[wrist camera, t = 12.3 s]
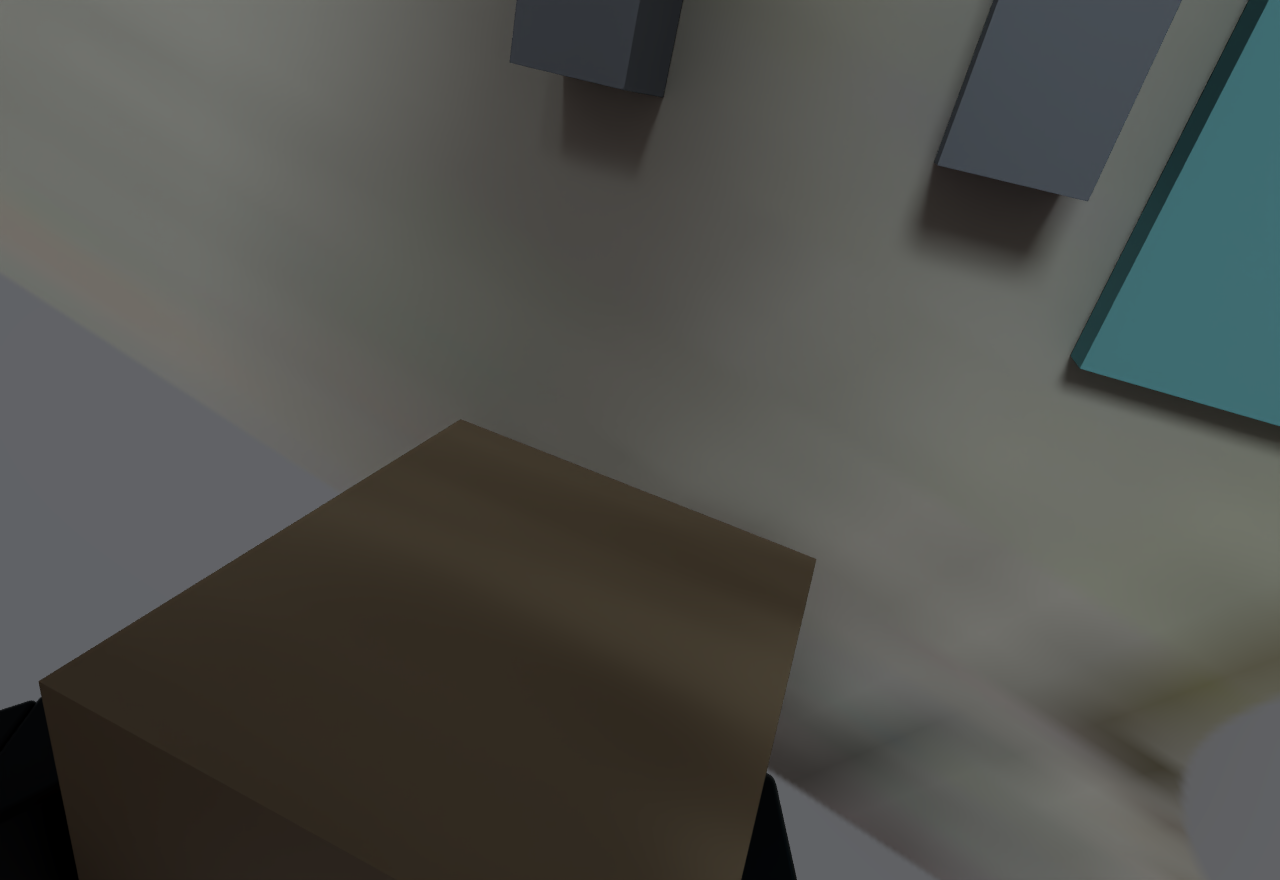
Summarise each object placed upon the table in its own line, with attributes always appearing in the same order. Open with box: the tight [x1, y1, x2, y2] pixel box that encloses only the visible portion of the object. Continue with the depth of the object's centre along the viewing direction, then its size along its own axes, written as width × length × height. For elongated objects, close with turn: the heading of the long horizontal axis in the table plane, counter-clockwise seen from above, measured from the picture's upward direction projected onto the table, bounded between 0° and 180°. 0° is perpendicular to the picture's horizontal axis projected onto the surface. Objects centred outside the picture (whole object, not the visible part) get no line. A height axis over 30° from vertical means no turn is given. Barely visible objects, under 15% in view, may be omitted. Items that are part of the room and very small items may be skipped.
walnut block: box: [39, 419, 816, 880], centre depth 8 cm, size 8×5×5 cm, turn 166°
